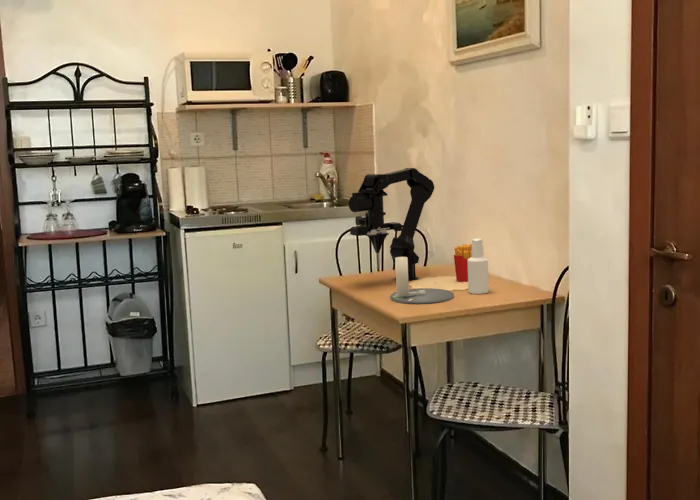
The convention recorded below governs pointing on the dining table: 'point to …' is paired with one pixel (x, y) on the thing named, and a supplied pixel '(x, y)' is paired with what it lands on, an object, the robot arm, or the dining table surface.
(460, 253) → the french fries
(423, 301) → the grey round platter
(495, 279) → the dining table surface
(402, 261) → the tall cream cylinder
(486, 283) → the spray bottle
